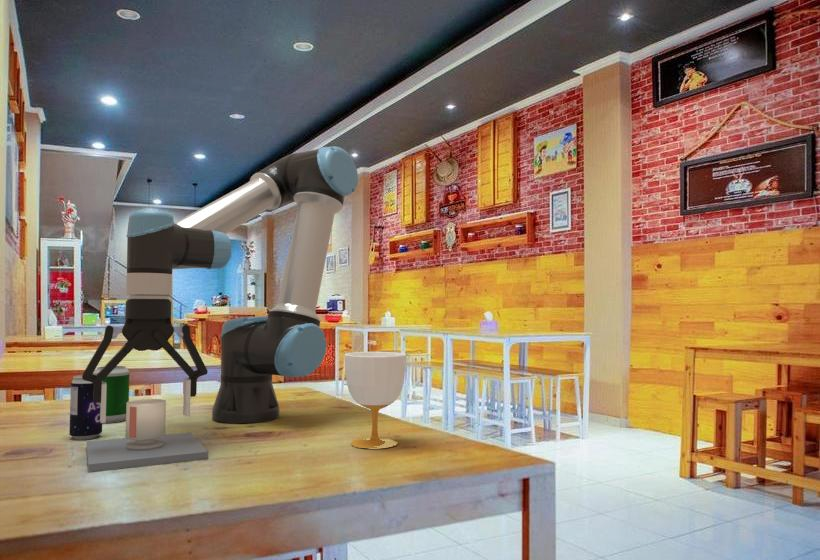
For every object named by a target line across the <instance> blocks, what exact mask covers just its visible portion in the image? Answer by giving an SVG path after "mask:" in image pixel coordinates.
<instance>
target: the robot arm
mask: <svg viewBox="0 0 820 560" xmlns="http://www.w3.org/2000/svg"><path fill="white" fill-rule="evenodd" d="M358 182H359V173H358V169H357V166H356V164H355V162H354V159H353V158H352V156H351V155H350V154H349V152H348V151H346V150H345V149H344V148H342V147H339V146H335V145H334V146H322V147H320V148H317V149H312V150H306V151H302V152H294V153H291V154H288V155H285V156H284V157H282V158H280V159H277V160H276V161H274V162H273V163H271V164H270V165H267V166H266V167H264V168H263V169H261V170H259V171H258V172H255V173H254V174H252V176H250V178H249V181H248V182H246V183H244V184H243V185H241V186H239V187H238V188H236V189H234V190H231V191H230V192H228V193H226V194H225V195H222V196H221V197H219V198H217V199H215V200H214V201H212V202H210V203H208V204H207V205H204V206H202V207H201V208H199V209H196V210H195V211H193V212H192V213H190V214H187V216H184V217H183V218H180V219H179V220H177V221H175V219H174V215H173V214H172V213H171V212H167V211H163V210H161V211H160V210H154V209H153V210H152V209H151V210H149V209H144V210H143V209H142V210H141V209H140V210H135V211H133V212H131V213H130V215H128V223H127V231H126V233H127V234H126V238H127V241H126V242H127V243H126V244H127V246H126V247H127V250H126V285H125V295H126V296H129V299H126V301H125V313H124V314H125V316H124V317H125V318H124V324H123V326H114V325H110V324H108V325H105V328H104V333H103V337H102V340H101V342H100V344H99V345H98V347H97V348H96V351H95V352H94V353H93V354H92V357H91V359H90V361H89V363H87V365H86V368H85V369H84V371H83V373H82V374H81V375H82V379H83V380H85V381H89V382H92V383H93V384H94V392H93V400H94V402H95V403H100V402H101V406H100V422H101V423H102V424H107V423H106V391H107V384H106V382H102V381H103V380H104V379H105V378H106V377H107V376H108V375H109V374H110V372H111V371H112V370H113V369H114V368H115V367H116V366H119V364H120V363H121V362H122V361H123V360H124V359H125V358H126V356H127V355H129V353H131V351H132V350H133V349H134V350H135V351H138V352H144V351H149V350H150V351H153V352H154V351H159V350H161V349H163V350H164V351H165V352H166V353H167V354H168V355H169V356H170V357H171V358H172V360H173V361H174V362H175V363H176V364H177V365H178V366H179V368H181V370H182V371H183V372H184V373H185V374H186V375H187V376H188V377H187V378H183V402H182V403H183V405H182V406H183V407H182V408H183V409H182V414H183V416H184V417H190V416H191V398H193V397H196V396H197V392H198V391H197V390H198V389H197V388H198V387H197V384H198V383H197V382H198V379H199V378H200V377H202V376H205V375H207V374H208V369H207V366H206V365H205V363H204V361H203V358H202V357H201V355H200V353H199V351H198V349H197V347H196V345H195V342H194V341H193V338H192V337H191V329H190V326H189V325H188V324H182V325H179V326H178V325H177V326H176V325H175V326H173V323H172V307H173V306H172V304H173V303H172V301H171V299H169V297H171V296H173V270H185V269H206V270H212V269H215V270H216V269H217V270H218V269H223V268H224V267H226V266H227V265H228V264H229V262H230V260H231V257H232V250H233V249H232V247H233V246H232V242H231V239H230V237H229V236H228V235H227V234H229V233H230V232H233V231H234V230H235V229H237V228H238V227H241V226H242V225H244V224H245V223H246V222H248V221H250V220H252V219H254V218H255V217H257V216H258V215H260V214H261V213H263V212H265V211H266V210H267V211H268V210H269V211H274V210H276V209H278V208H279V207H281V206H284V205H287V204H291V203H295V204H296V205H297V210H296V216H295V221H294V225H293V228H292V229H293V230H292V234H291V238H290V244H289V248H288V252H287V256H286V257H287V258H286V262H285V266H284V272H283V276H282V280H281V284H280V285H281V286H280V291H279V294H278V301H277V304H276V305H275V306H274V307H272V308H271V309H269V310H268V312H267V316H248V317H246V316H245V317H237V318H232V319H228V320H226V321H225V322H223V324H222V326H221V333H220V334H221V335H220V343H221V344H220V385H219V386H220V387H219V388H218V392H217V395H216V397H215V400H214V402H213V406H212V409H211V416H212V417H211V420H212V421H215V422H218V423H226V424H227V423H230V424H248V423H249V424H250V423H252V424H253V423H259V422H262V423H263V422H267V421H272V420H275V419H278V418H279V417H280V404H279V401H278V398H277V394H276V391H275V388H274V386H273V376H277V377H278V376H281V377H285V378H302V377H308V376H309V375H312V373H313V372H315V371H316V370H317V369H318V368H319V367H320V366H321V365H322V362H323V361H324V358H325V357H326V352H327V339H326V338H325V332H324V331H323V329H322V328H321V327H320V325H321V319H320V317H319V315H317V312H316V310H317V305H318V300H319V296H320V292H321V291H320V289H321V285H322V281H323V274H324V271H325V264H326V259H327V256H328V249H329V246H330V245H329V244H330V239H331V234H332V229H333V224H334V220H335V218H334V217H335V214H338V213H339V212H340V211H342V210H343V208H344V207H343V206H344V202H345V201H344V200H345V197H348V196H350V195H351V194H352V193H354V192H355V191H356V189H357V186H358V185H359V184H358ZM174 333H175V334H176V335H177V337H179V338H181V340H182V341H183V343H184V346H185V348H186V350H187V352H188V354H189V355H190V358H191V360H192V361H193V363H194V366H195V367H196V369H195V370H194V368H192V367H191V366H190V365H189V363H188V362H187V361H186V360H185V359H184V358H183V357H182V356H181V355H180V353H179V352H178V351H177V350H176V349H175V348H174V347H173V345H172V344H171V343H170V342H169V339H170V338H171V337H172V336H173V335H174ZM119 334H122V335H123V337H124V338H125V340H127V341H126V342H125V344H123V345H122V347H121V348H120V350H118V351H117V352H116V354H114V356H113V357H112V358H111V359H110V360H109V361H108V362H107V363H106V364H105V365H103V366H104V367H103V366H102V367H103V369H102V370H101V371H100V372H99V373H98V374H97V375H95V374H93V372H94V371H95V370H96V369H97V367H98V365H99V363H100V361H101V360H102V359H103V357H104V354H105V353H106V351H107V349H108V348H109V346H110V345H111V342H112V339H113V340H114V339H116V338H117V337H118V336H119Z"/></svg>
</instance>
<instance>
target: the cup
mask: <svg viewBox="0 0 820 560" xmlns="http://www.w3.org/2000/svg"><path fill="white" fill-rule="evenodd" d="M406 363H407V354H406V353H404V352H397V351H395V352H394V351H354V352H347V353H345V354H344V369H345V379H346V381H345V382H346V385H347V388H348V389H347V390H348V392H349V394H350V396H351V398H352V400H353V401H355V402H356V404H358V405H360V406H361V407H363V408H365V409H368V410H370V411H371V423H372V424H371V425H372V426H371V436H370V437H369V438H370V440H366V439H365V438H366V437H362V438H358V439H354V440H352V441H351V442H350V444H352V445H353V446H356V447H360V448H377V447H374V446H380V445H382V444H384V443H385V441H382V440H380V439H379V438H380V437H379V431H378V421H379V420H378V419H379V417H378V416H379V411H380V410H382V409H384V408H387V407H388V406H390V405H391V404H393V403H395V401H397V400H398V398H399V396H400V394H401V393H402V390H403V387H404V383H405V376H406V374H405V373H406V369H407V368H406V365H407V364H406ZM363 439H365V440H363ZM398 443H399V442H398ZM398 443H397V444H398ZM397 444H396V445H397ZM352 445H351V446H352ZM398 445H399V444H398ZM398 445H397V446H398ZM353 446H352V447H353ZM393 446H394V445H393ZM356 447H355V448H356ZM360 448H359V449H360Z"/></svg>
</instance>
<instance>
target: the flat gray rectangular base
mask: <svg viewBox="0 0 820 560" xmlns="http://www.w3.org/2000/svg"><path fill="white" fill-rule="evenodd" d="M208 458H209V451H208V450H207V448H206V447H204V445H203V444H202V443H201V442H200V441H199V440H198V438H197V437H196V436H195V435H194V434H193V433H192V432H191V431H187V432H178V433H176V432H175V433H167V434H166V433H165V436H163V437H160V438H156V439H149V440H129V439H126V437H121V438H111V439H110V438H107V439H99V440H98V439H97V440H87V441H86V459H87V472H88V473H92V472H93V473H94V472H103V471H111V470H118V469H119V470H121V469H128V468H136V467H137V468H140V467H146V466H147V467H149V466H156V465H164V464H165V465H166V464H171V463H173V464H174V463H181V462H192V461H199V460H208Z"/></svg>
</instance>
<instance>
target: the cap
mask: <svg viewBox="0 0 820 560" xmlns="http://www.w3.org/2000/svg"><path fill="white" fill-rule="evenodd" d="M166 408H167V400H166V399H161V398H147V399H145V398H142V399H134V400H129V402H127V404H126V418H125V438H126V439H129V440H149V439H156V438H160V437H163V436H165V434H166V422H167V421H166V416H167V415H166V412H167V411H166V410H167V409H166Z"/></svg>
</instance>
